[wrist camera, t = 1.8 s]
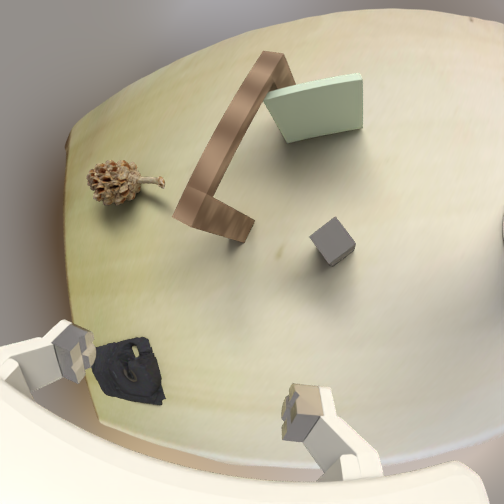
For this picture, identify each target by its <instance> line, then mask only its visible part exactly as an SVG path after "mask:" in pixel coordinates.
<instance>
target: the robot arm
mask: <svg viewBox="0 0 504 504" xmlns="http://www.w3.org/2000/svg"><path fill="white" fill-rule="evenodd" d="M503 238H504V218H503ZM93 340H94V335H93V333H92V332H91V331H89V330H87V329H85V328H82V327H80V326H78V325H76V324H73V323H71V322H69V321H66V320H61V321H60V322H59V323H58V324H57V325H56V326H55V327H53V328H52V329H51V330H50V331H49V332H48V333H47V334H46V335H45V336H44V337H43V338H40V337H38V338H34V339H30V340H26V341H22V342H18V343H14V344H10V345H6V346H2V347H0V504H490V503H489V499H488V496H487V493H486V490H485V487H484V484H483V482H482V480H481V478H480V477H479V475H478V474H476V473H475V472H474V471H473V470H471V469H470V468H468V467H467V466H466V465H464V464H463V463H461V462H459V461H456V460H455V461H448V462H445V463H442V464H438V465H434V466H431V467H427V468H423V469H419V470H414V471H410V472H405V473H400V474H394V475H388V476H384V473H383V470H382V466H381V462H380V458H379V455H378V452H377V451H376V450H375V449H374V448H373V447H372V446H371V445H370V444H369V443H367V442H366V441H365V440H364V439H363V438H362V437H361V436H360V435H359V434H358V433H357V432H356V431H355V430H354V429H353V428H351V427H350V426H349V425H348V424H347V423H346V422H345V421H344V420H343V419H342V418H341V417H337V413H336V409H335V404H334V400H333V396H332V391H331V388H330V387H325V386H313V385H303V384H295V383H293V384H292V385H291V387H290V389H289V395H288V396H287V397H285V400H284V402H283V406H282V412H281V418H282V420H283V421H284V424H283V425H282V440H286V441H296V442H303V444H304V446H305V447H306V448H307V450H308V451H309V453H310V454H311V455H312V457H313V458H314V460H315V461H316V462H317V464H318V465H319V467H320V468H321V469H322V470H323V472H324V474H323V475H322V476H321V477H320V478H319V479H318V480H317V481H316V482H292V481H273V480H261V479H252V478H244V477H236V476H230V475H223V474H218V473H213V472H207V471H202V470H198V469H194V468H190V467H185V466H181V465H178V464H174V463H170V462H166V461H163V460H160V459H157V458H154V457H150V456H147V455H144V454H141V453H139V452H136V451H133V450H130V449H128V448H125V447H122V446H120V445H117V444H115V443H112V442H110V441H108V440H105V439H103V438H101V437H99V436H96V435H94V434H92V433H90V432H88V431H86V430H83V429H82V428H80V427H77V426H76V425H74V424H72V423H70V422H68V421H66V420H64V419H63V418H61V417H59V416H57V415H55V414H54V413H52V412H50V411H49V410H47V409H45V408H44V407H42V406H41V405H39V404H37V403H36V402H35V400H34V398H33V396H32V394H31V392H33V391H35V390H37V389H40V388H41V387H44V386H46V385H48V384H50V383H52V382H54V381H56V380H58V379H60V378H62V377H65V378H67V379H69V380H71V381H73V382H75V383H78V384H79V382H80V381H81V380H82V378H83V377H84V376H85V374H86V373H85V369H88V368H91V366H92V365H93V363H94V361H95V358H96V348H95V346H94V345H93V343H92V342H93Z"/></svg>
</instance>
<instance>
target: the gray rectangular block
mask: <svg viewBox="0 0 504 504" xmlns="http://www.w3.org/2000/svg"><path fill="white" fill-rule="evenodd" d="M309 238H310V239H311V240H312V242H313V243H314V244H315V246H316V247H317V248H318V250H319V251H320V252H321V254H322V255H323V257H324V258H325V259H326V261H327V262H328V264H330V265H332V266H334V265H335V264H337V263H338V262H339V261H341V260H342V259H343V258H345V257H346V256H347V255H349V254H350V253H351V252H352V251H354V249H355V245H356V243H355V241H354V240H353V239H352V237H351V236H350V235H349V233H348V232H347V231H346V229H345V228H344V227H343V226H342V224H341V223H340V222H339V220H338V219H337V218H336V217H334V218H333V219H331V220H330V221H329V222H327V223H326V224H325V225H323V226H322V227H321V228H320V229H318V230H317V231H316V232H314V233H313V234H312V235H311V236H309Z"/></svg>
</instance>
